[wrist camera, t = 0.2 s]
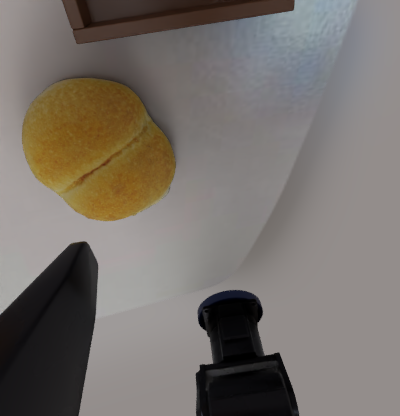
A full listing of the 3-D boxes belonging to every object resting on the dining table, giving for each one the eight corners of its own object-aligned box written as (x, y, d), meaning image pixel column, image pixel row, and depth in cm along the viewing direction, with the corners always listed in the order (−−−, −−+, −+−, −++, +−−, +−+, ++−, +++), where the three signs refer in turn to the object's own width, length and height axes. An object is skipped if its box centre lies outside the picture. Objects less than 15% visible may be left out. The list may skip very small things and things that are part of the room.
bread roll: (104, 43, 16) (90, 60, 13) (191, 166, 21) (196, 199, 18) (-3, 123, 18) (-39, 155, 15) (99, 218, 23) (89, 256, 20)
